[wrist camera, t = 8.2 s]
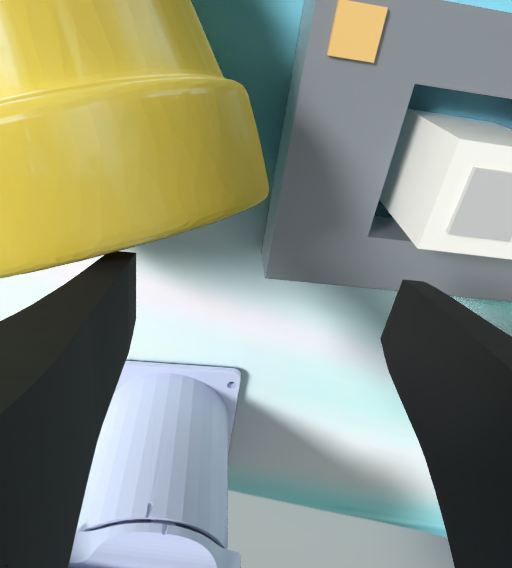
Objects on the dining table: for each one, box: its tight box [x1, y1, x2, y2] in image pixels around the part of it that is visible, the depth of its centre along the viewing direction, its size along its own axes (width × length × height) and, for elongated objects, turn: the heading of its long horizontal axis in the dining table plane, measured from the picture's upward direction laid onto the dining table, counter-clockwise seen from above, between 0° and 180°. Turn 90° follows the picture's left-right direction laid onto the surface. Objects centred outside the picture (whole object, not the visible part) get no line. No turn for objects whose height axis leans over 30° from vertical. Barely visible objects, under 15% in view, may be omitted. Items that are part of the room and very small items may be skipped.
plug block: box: [379, 109, 512, 260], centre depth 18 cm, size 4×4×5 cm
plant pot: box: [0, 0, 269, 278], centre depth 13 cm, size 10×10×10 cm
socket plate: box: [261, 0, 512, 302], centre depth 18 cm, size 11×14×3 cm
